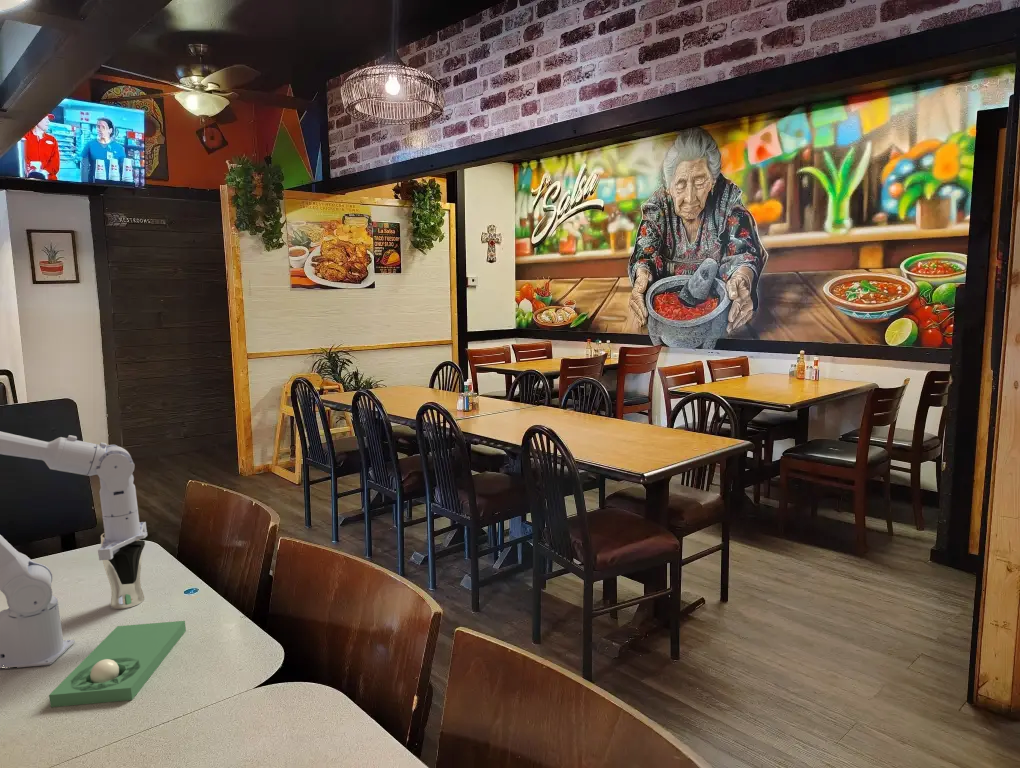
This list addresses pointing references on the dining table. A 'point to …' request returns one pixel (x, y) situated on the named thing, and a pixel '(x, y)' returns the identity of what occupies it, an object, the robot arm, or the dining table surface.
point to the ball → (104, 671)
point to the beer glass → (123, 587)
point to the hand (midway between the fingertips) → (129, 582)
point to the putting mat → (120, 664)
